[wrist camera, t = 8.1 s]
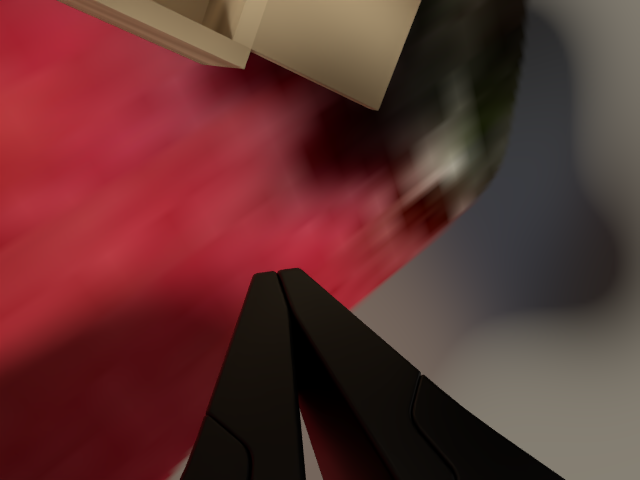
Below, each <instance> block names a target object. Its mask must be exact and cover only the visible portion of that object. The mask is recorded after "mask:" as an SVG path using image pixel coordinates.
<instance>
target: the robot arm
mask: <svg viewBox="0 0 640 480" xmlns="http://www.w3.org/2000/svg"><path fill="white" fill-rule="evenodd" d="M300 411H301V414H302V417H303V420H304V423H305V425H306V428H307V432H308V435H309V438H310V441H311V444H312V447H313V450H314V453H315V456H316V459H317V462H318V465H319V468H320V471H321V474H322V477H323V480H565V479H564V478H562V477H561V476H559V475H558V474H557V473H555V472H554V471H552V470H551V469H549V468H548V467H546V466H545V465H543V464H542V463H541V462H539V461H538V460H536V459H535V458H534V457H532V456H531V455H529V454H528V453H526V452H525V451H523V450H522V449H521V448H519V447H517V446H516V445H515V444H513V443H512V442H511V441H509V440H508V439H506V438H505V437H503V436H502V435H501V434H499V433H498V432H496V431H495V430H493V429H492V428H491V427H489V426H488V425H487V424H485V423H484V422H483V421H481V420H480V419H478V418H477V417H476V416H474V415H473V414H472V413H470V412H469V411H468V410H466V409H465V408H464V407H462V406H461V405H460V404H459V403H457V402H456V401H455V400H454V399H452V398H451V397H450V396H449V395H448V394H446V393H445V392H444V391H443V390H441V389H440V388H439V387H438V386H437V385H435V384H434V383H433V382H432V381H431V380H430V379H428V378H427V377H426V376H425V375H421V372H420V371H419V370H418V369H417V368H415V367H414V366H413V365H412V364H411V363H410V362H408V361H407V360H406V359H405V358H404V357H403V356H401V355H400V354H399V353H398V352H397V351H396V350H394V349H393V348H392V347H391V346H390V345H389V344H387V343H386V342H385V341H384V340H383V339H382V338H381V337H379V336H378V335H377V334H376V333H375V332H373V331H372V330H371V329H370V328H369V327H368V326H366V325H365V324H364V323H363V322H362V321H361V320H359V319H358V318H357V317H356V316H355V315H354V314H353V313H351V312H350V311H349V310H348V309H347V308H346V307H344V306H343V305H342V304H341V303H340V302H339V301H337V300H336V299H335V298H334V297H333V296H332V295H330V294H329V293H328V292H327V291H326V290H325V289H323V288H322V287H321V286H320V285H319V284H318V283H317V282H315V281H314V280H313V279H312V278H311V277H310V276H308V275H307V274H306V273H305V272H304V271H303V270H301V269H299V268H291V269H284V270H279V271H278V273H276V272H274V271H270V272H262V273H256V274H254V275H253V277H252V280H251V283H250V286H249V289H248V292H247V294H246V297H245V300H244V303H243V306H242V309H241V312H240V315H239V318H238V321H237V323H236V326H235V329H234V332H233V335H232V338H231V341H230V344H229V347H228V350H227V353H226V355H225V358H224V361H223V364H222V367H221V370H220V373H219V376H218V379H217V382H216V384H215V387H214V390H213V393H212V396H211V399H210V402H209V405H208V408H207V411H206V416H205V417H204V418H203V421H202V424H201V427H200V430H199V433H198V436H197V439H196V441H195V444H194V446H193V449H192V451H191V454H190V457H189V459H188V462H187V464H186V467H185V469H184V472H183V473H182V476H181V478H180V480H306V475H305V464H304V453H303V442H302V431H301V420H300Z"/></svg>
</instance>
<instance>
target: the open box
mask: <svg viewBox="0 0 640 480" xmlns="http://www.w3.org/2000/svg"><path fill="white" fill-rule="evenodd" d="M57 1H59V2H62V3H64V4H66V5H68V6H71V7H73V8H75V9H78V10H80V11H82V12H84V13H87V14H89V15H91V16H93V17H96V18H98V19H100V20H103V21H105V22H107V23H109V24H112V25H114V26H116V27H118V28H121V29H123V30H125V31H127V32H130V33H132V34H134V35H137V36H139V37H141V38H143V39H146V40H148V41H150V42H152V43H155V44H157V45H159V46H162V47H164V48H166V49H168V50H171V51H173V52H175V53H177V54H180V55H182V56H184V57H186V58H189V59H191V60H193V61H196V62H198V63H200V64H204V65H213V66H222V67H232V68H241V69H244V68H245V65H246V62H247V60H248V57H249V54H250V51H251V52H253V53H255V54H257V55H259V56H261V57H263V58H265V59H267V60H269V61H271V62H274V63H276V64H278V65H280V66H282V67H284V68H286V69H288V70H290V71H292V72H294V73H296V74H298V75H300V76H303V77H305V78H307V79H309V80H311V81H313V82H315V83H317V84H319V85H321V86H323V87H325V88H327V89H329V90H332V91H334V92H336V93H338V94H340V95H342V96H344V97H346V98H348V99H350V100H352V101H354V102H356V103H358V104H361V105H363V106H365V107H367V108H369V109H372V110H377V111H378V110H379V108H380V105H381V102H382V100H383V97H384V95H385V92H386V90H387V87H388V84H389V82H390V79H391V77H392V74H393V72H394V69H395V66H396V64H397V61H398V59H399V56H400V54H401V51H402V48H403V46H404V43H405V41H406V38H407V36H408V33H409V30H410V28H411V25H412V23H413V20H414V18H415V15H416V12H417V10H418V7H419V5H420V2H421V0H57Z"/></svg>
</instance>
